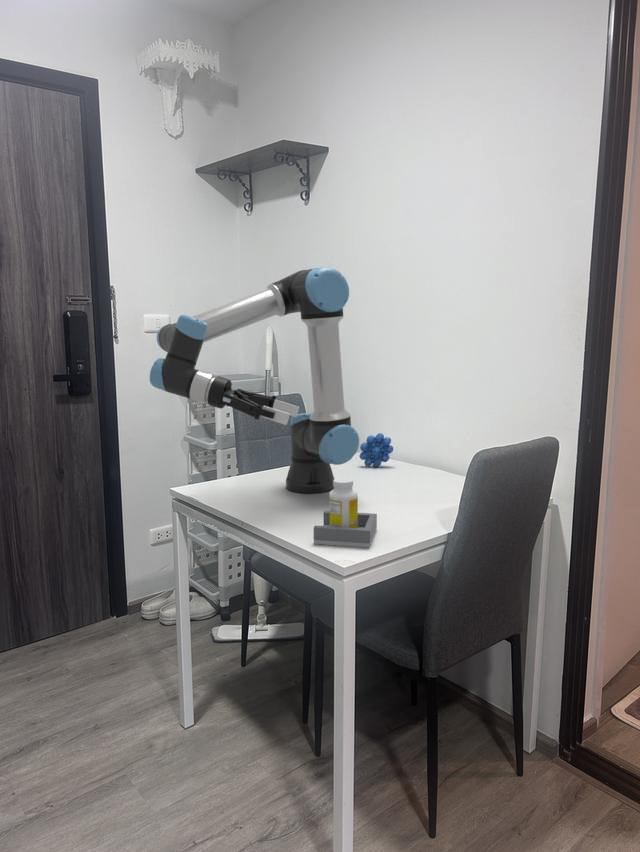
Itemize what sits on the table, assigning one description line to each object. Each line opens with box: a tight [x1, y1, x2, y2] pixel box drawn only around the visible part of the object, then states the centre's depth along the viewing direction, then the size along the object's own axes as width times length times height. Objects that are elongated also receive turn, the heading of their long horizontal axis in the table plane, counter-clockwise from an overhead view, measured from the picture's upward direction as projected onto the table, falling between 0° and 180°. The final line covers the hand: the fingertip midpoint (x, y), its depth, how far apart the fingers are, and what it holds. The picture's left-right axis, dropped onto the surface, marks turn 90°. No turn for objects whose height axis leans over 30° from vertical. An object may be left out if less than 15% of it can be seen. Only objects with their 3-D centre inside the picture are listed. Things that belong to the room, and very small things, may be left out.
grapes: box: [359, 432, 394, 468], centre depth 223 cm, size 12×7×12 cm, turn 84°
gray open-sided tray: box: [313, 510, 378, 549], centre depth 153 cm, size 13×13×4 cm
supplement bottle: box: [328, 477, 359, 528], centre depth 152 cm, size 7×7×13 cm
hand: (293, 415), depth 158 cm, fingers open, 13 cm apart
